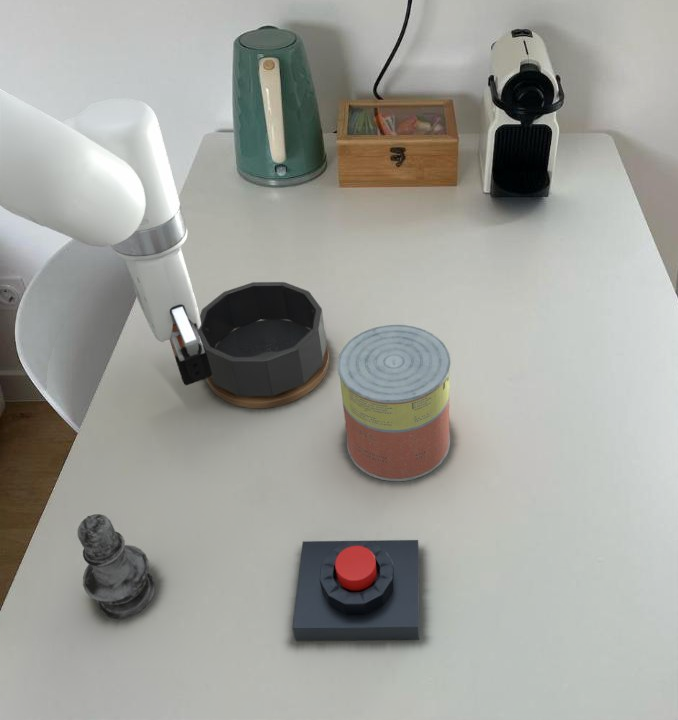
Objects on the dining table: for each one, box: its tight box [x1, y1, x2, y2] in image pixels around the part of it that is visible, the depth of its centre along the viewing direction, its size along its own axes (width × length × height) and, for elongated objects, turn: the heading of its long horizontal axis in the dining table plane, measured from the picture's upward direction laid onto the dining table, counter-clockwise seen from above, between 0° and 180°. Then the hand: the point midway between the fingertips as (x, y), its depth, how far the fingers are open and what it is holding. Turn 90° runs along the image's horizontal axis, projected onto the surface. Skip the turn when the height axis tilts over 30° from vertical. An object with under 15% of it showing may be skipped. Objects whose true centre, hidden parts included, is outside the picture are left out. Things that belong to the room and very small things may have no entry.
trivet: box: [205, 320, 330, 409], centre depth 99 cm, size 15×15×1 cm
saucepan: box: [168, 281, 328, 397], centre depth 95 cm, size 18×14×8 cm
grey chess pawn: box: [77, 513, 156, 620], centre depth 72 cm, size 6×6×12 cm
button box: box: [292, 539, 420, 642], centre depth 74 cm, size 11×9×4 cm
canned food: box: [337, 324, 451, 482], centre depth 85 cm, size 11×11×12 cm
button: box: [335, 546, 377, 591], centre depth 72 cm, size 4×4×2 cm
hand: (185, 353), depth 92 cm, fingers open, 9 cm apart
